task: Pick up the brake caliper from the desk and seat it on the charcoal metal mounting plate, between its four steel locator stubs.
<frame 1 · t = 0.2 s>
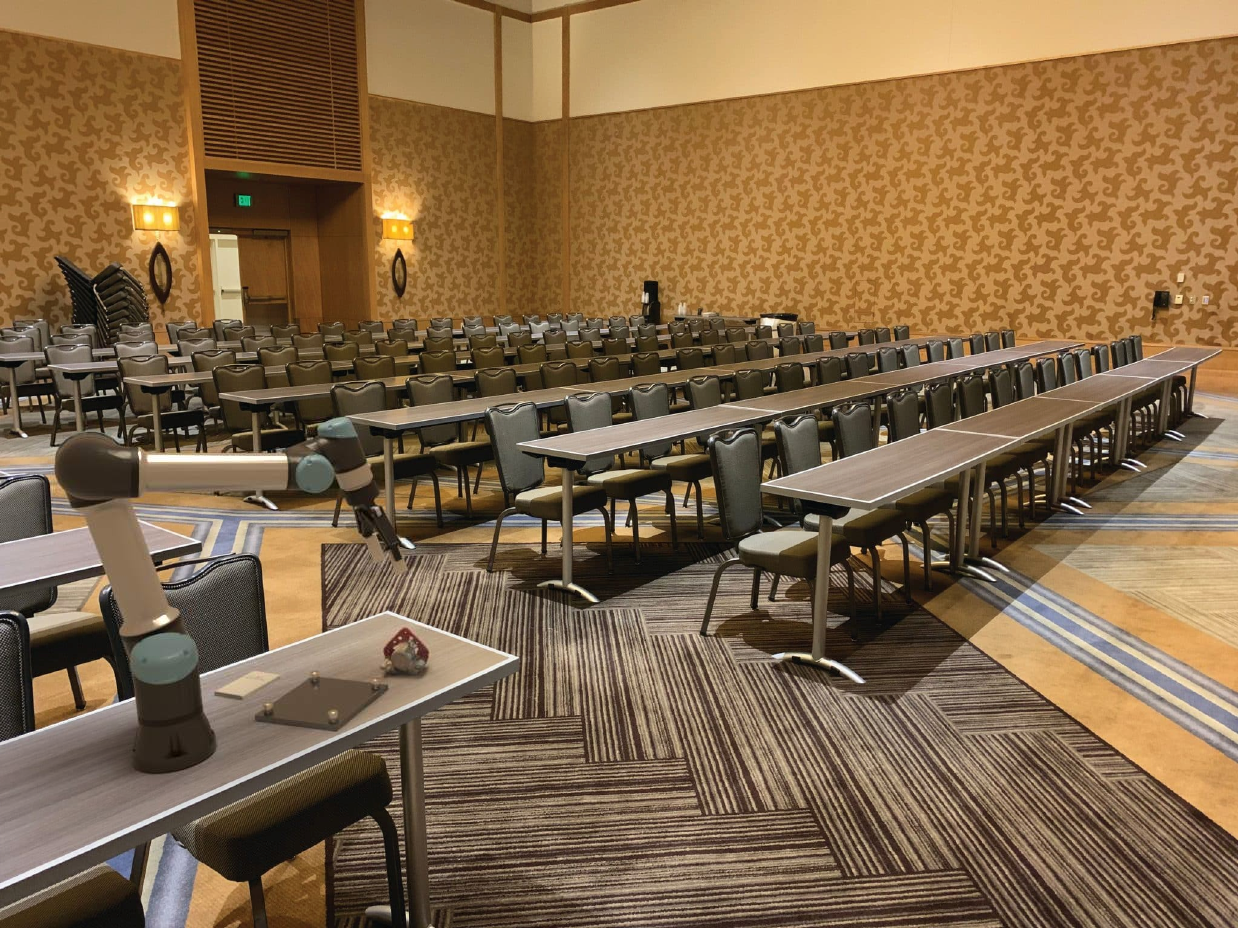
hand: (390, 566, 212), 27 cm above the table, tool tilted 15°, fingers open, 13 cm apart
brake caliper: (406, 672, 220), on the table
mounting plate: (324, 704, 202), on the table
light wooden board: (248, 689, 213), on the table
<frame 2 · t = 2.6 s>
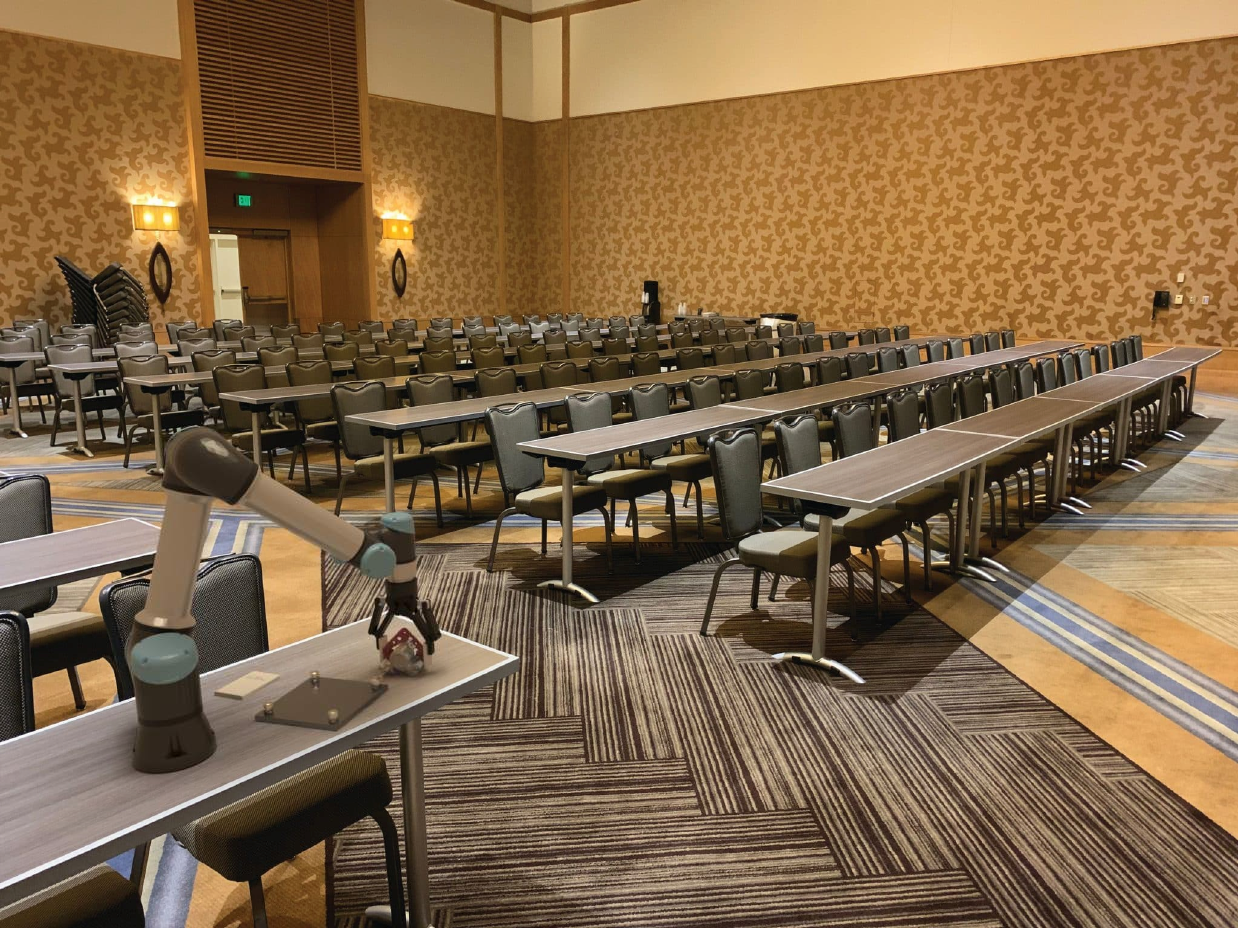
hand: (406, 664, 220), 2 cm above the table, tool pointing down, fingers closed on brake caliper, 11 cm apart
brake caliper: (405, 672, 219), on the table, touching gripper
everything else where it was.
when the fingers open (4 cm above the table, at t = 8.4 s): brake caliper drops 1 cm, resting on mounting plate.
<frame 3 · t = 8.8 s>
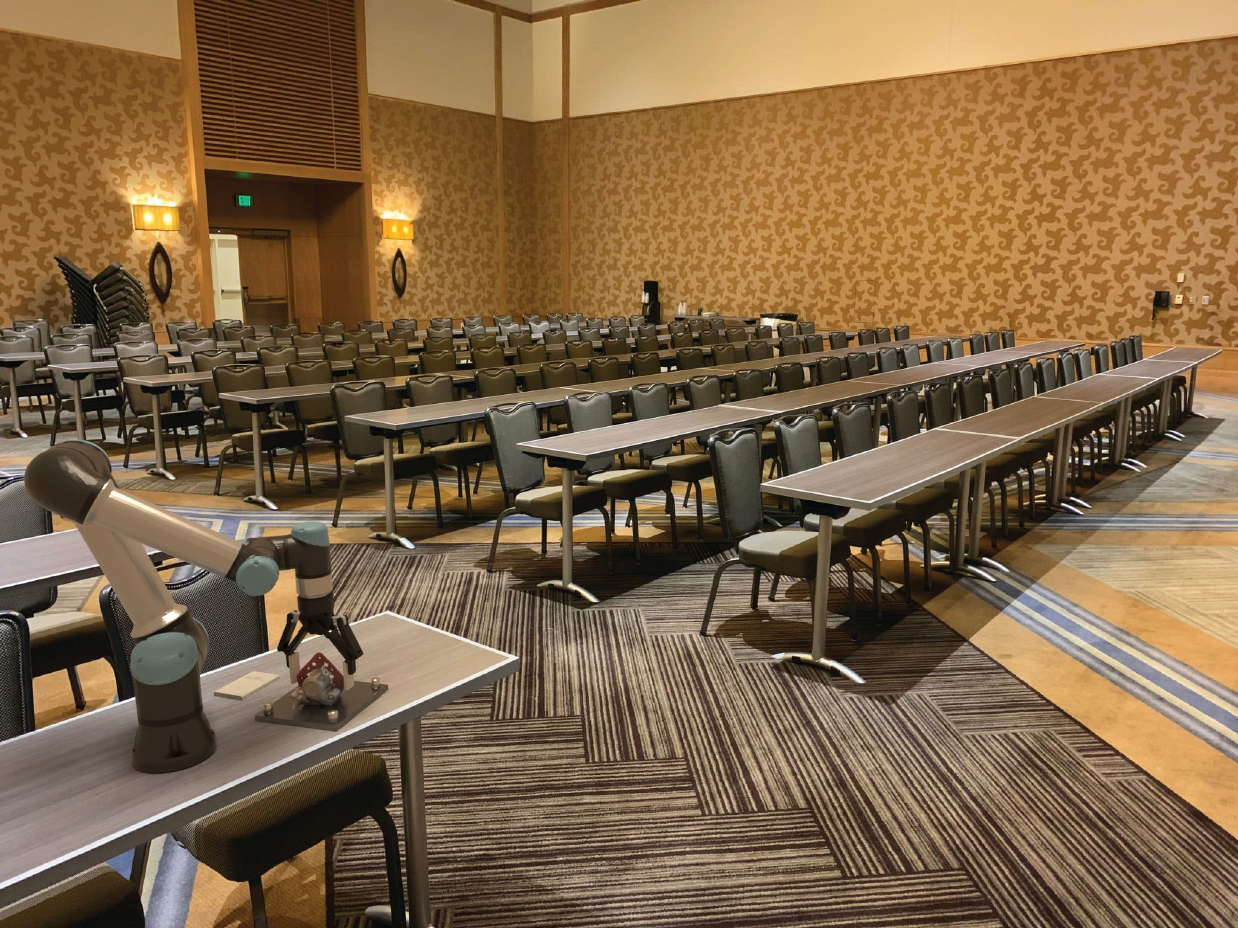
hand: (322, 684, 202), 5 cm above the table, tool pointing down, fingers open, 13 cm apart
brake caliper: (321, 701, 202), point 1 cm above the table, touching mounting plate
everything else where it was.
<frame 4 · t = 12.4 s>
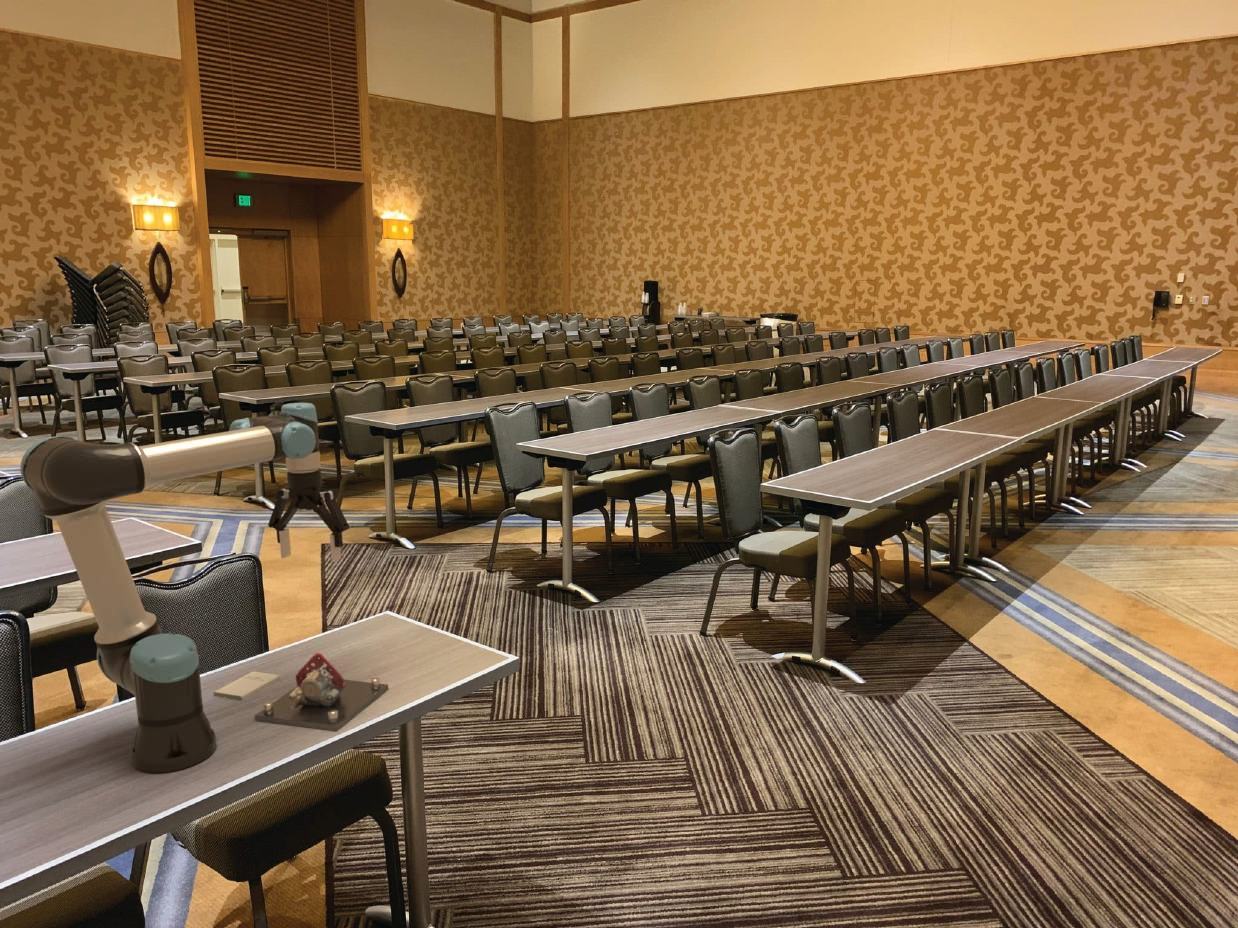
hand: (311, 558, 214), 29 cm above the table, tool pointing down, fingers open, 13 cm apart
nothing on the table moved.
at the end: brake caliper 1.0 cm off-centre on the mounting plate, point 1.0 cm above the mounting plate's base; the gripper is holding nothing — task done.
